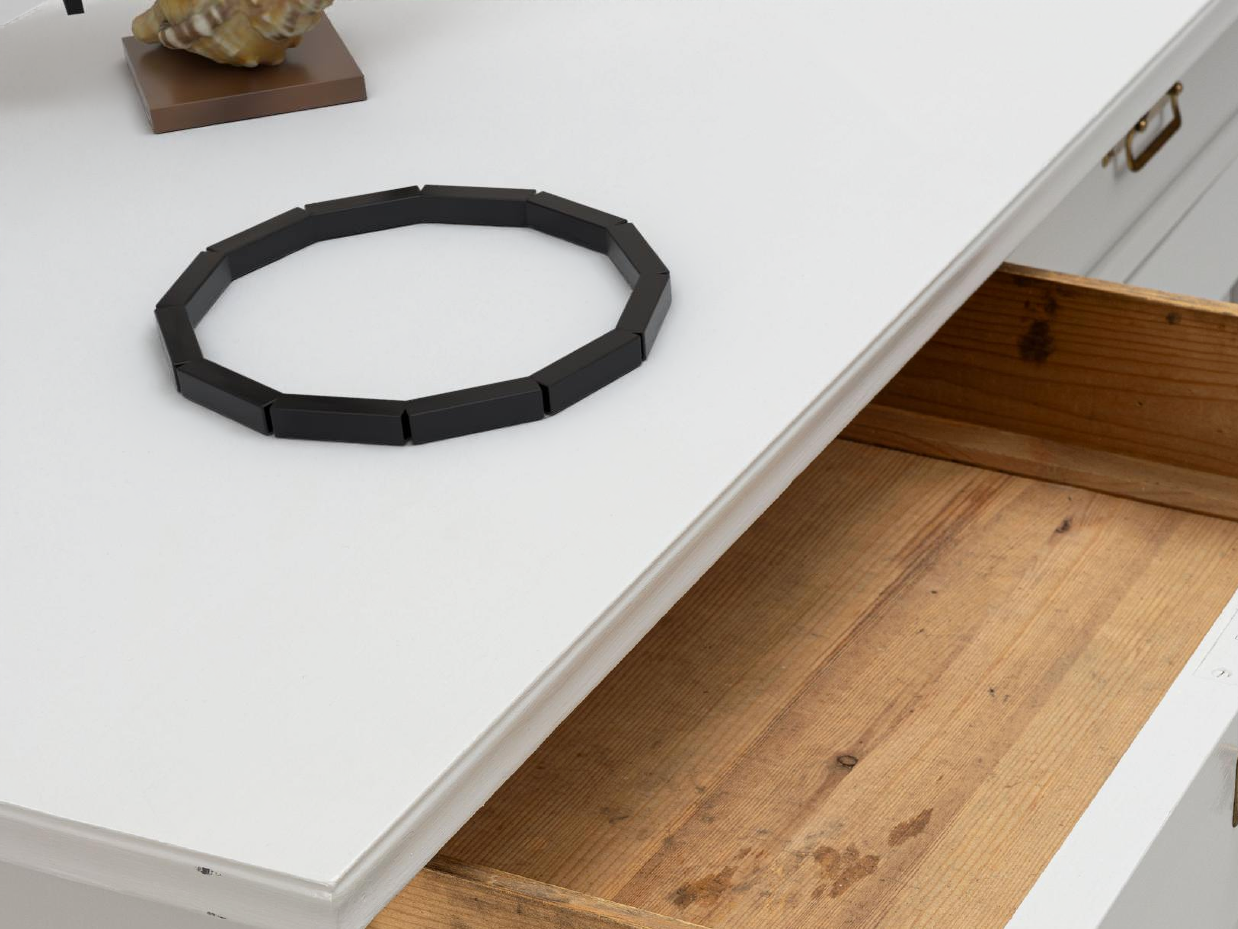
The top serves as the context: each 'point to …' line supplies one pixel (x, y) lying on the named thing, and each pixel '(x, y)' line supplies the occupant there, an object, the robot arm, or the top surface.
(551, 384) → the burner ring
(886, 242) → the top surface
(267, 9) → the seashell
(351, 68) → the walnut board
